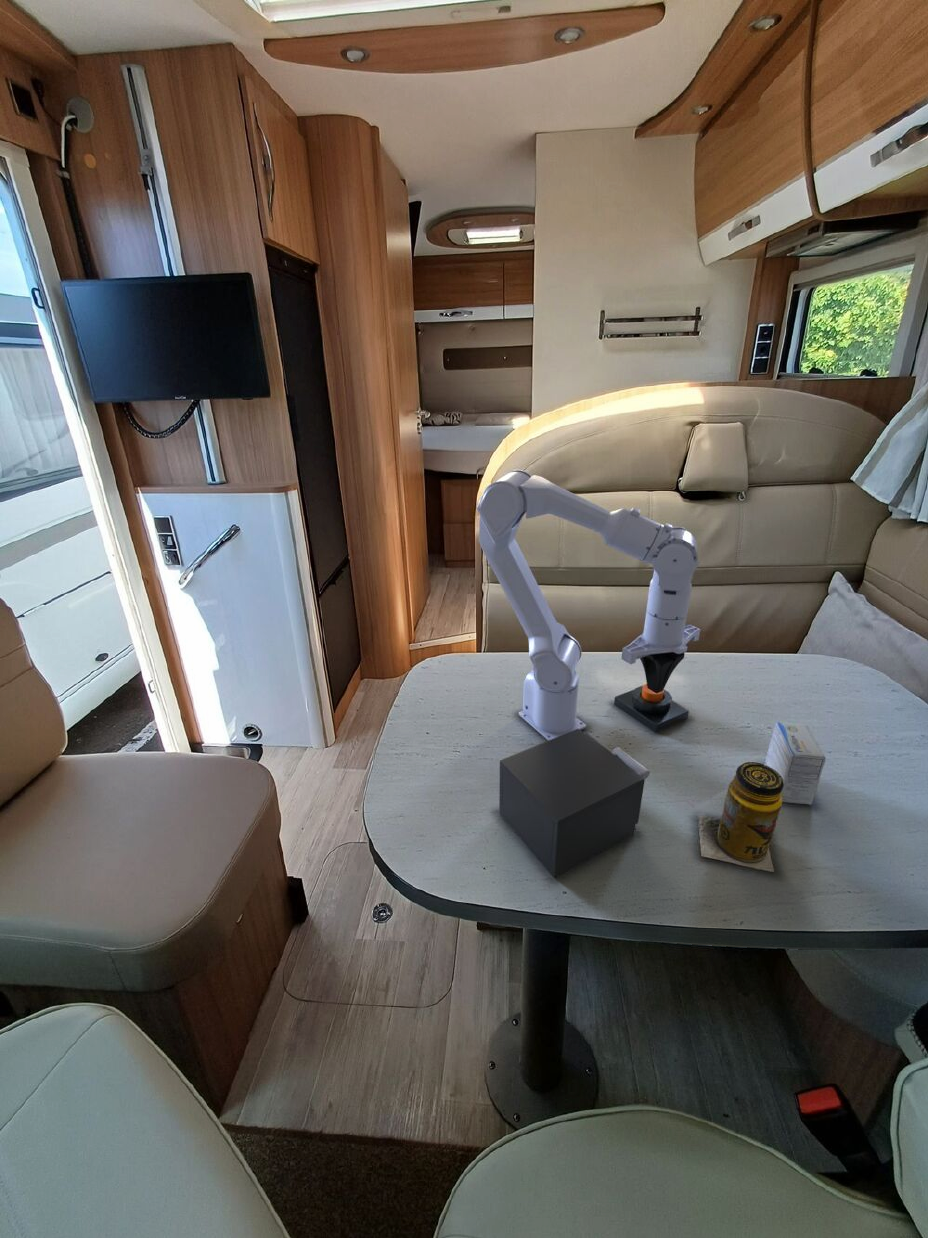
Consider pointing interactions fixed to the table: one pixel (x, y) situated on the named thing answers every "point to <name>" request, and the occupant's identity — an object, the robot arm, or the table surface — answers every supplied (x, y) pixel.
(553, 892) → the table surface
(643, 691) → the button
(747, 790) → the condiment
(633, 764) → the drawer
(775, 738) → the medicine box
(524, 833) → the grey cube with drawer
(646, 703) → the control block
